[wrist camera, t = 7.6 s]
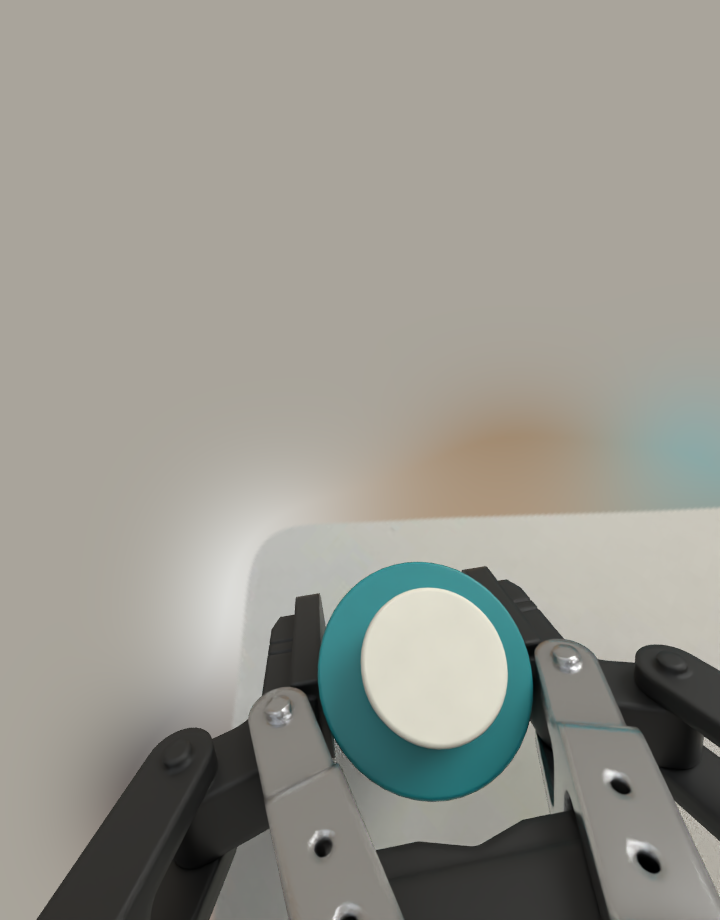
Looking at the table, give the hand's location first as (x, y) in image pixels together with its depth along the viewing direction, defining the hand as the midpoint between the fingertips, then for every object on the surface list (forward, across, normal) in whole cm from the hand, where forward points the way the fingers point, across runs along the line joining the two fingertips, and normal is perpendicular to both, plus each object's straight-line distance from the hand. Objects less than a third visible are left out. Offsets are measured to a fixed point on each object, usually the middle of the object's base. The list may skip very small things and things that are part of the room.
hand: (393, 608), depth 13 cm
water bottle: (+2, 0, +5) cm, 5 cm away
